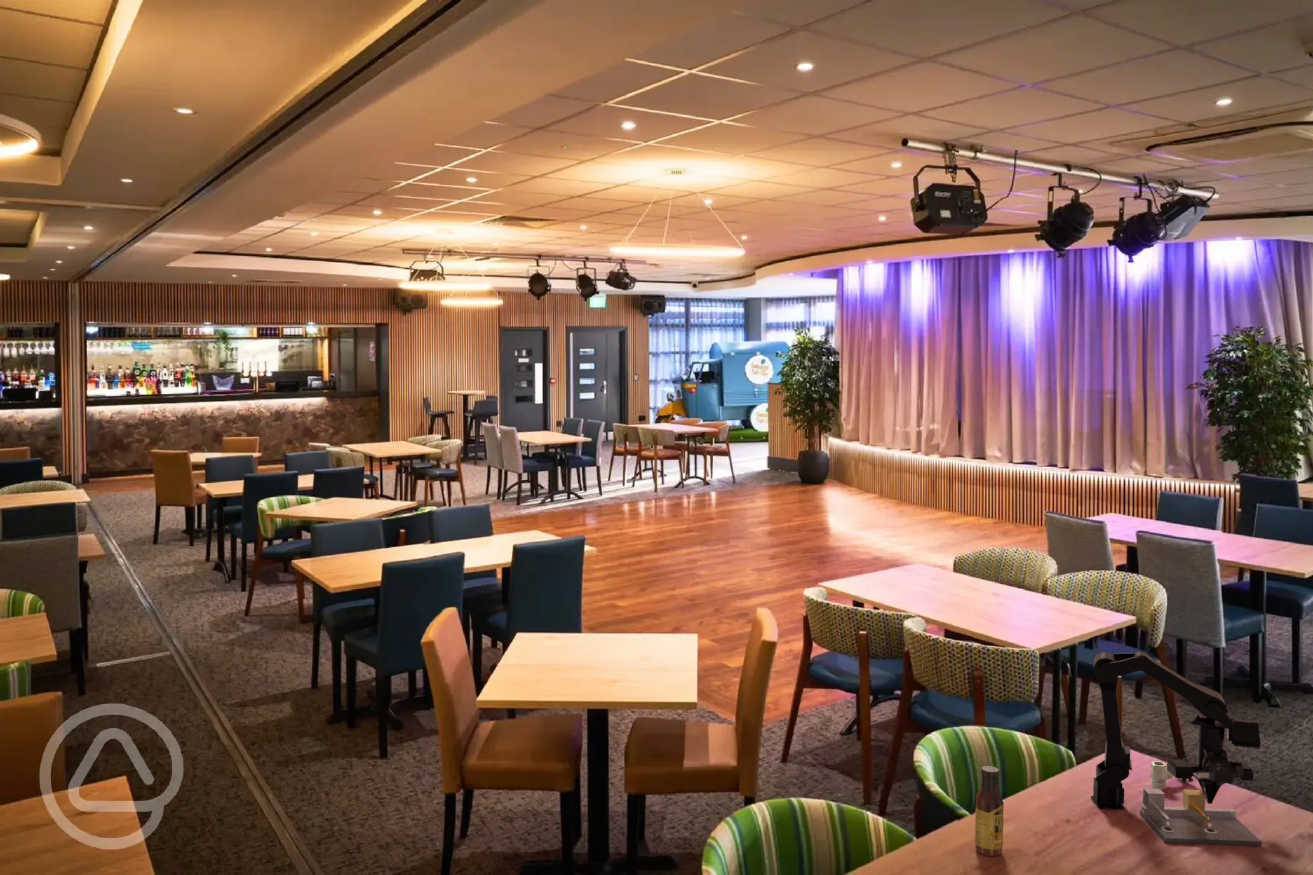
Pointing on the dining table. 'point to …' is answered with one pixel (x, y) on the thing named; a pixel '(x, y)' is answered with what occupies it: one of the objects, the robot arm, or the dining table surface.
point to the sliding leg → (1196, 803)
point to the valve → (1162, 774)
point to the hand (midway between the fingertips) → (1209, 802)
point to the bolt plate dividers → (1194, 823)
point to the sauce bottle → (989, 814)
